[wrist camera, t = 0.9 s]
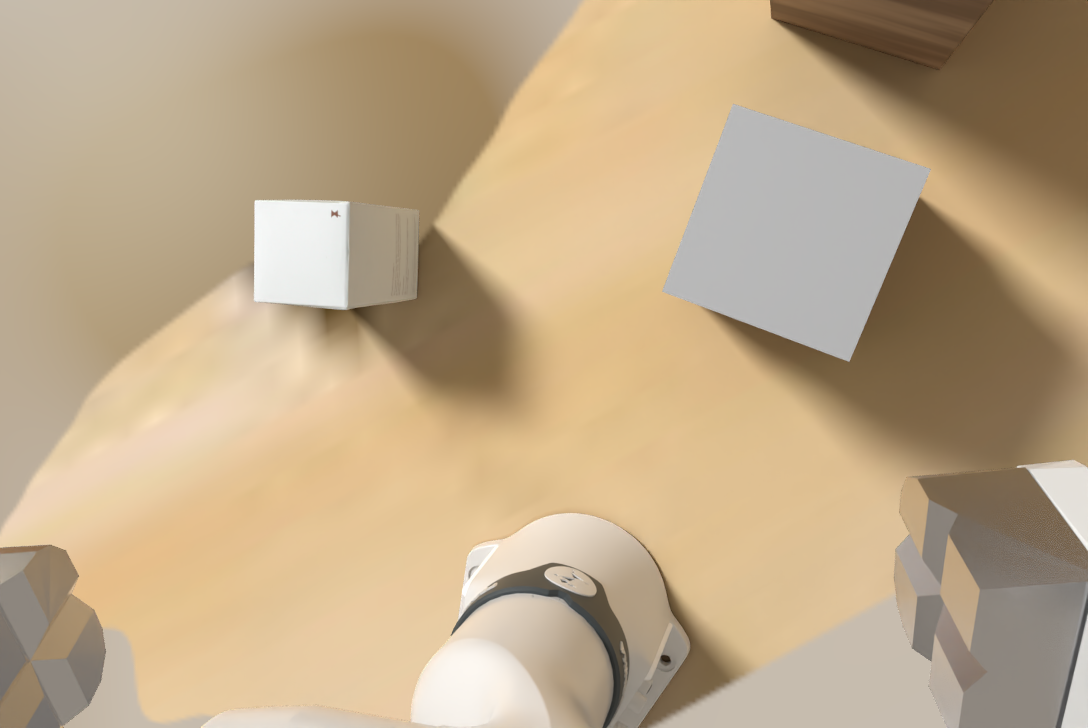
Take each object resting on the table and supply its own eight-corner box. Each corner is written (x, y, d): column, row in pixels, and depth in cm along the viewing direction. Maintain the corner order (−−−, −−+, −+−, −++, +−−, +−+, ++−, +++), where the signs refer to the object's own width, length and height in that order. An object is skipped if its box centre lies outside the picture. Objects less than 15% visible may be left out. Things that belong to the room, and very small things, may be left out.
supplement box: (336, 205, 77) (252, 195, 65) (422, 209, 76) (351, 199, 64) (334, 296, 78) (249, 302, 66) (418, 302, 77) (348, 310, 64)
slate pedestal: (839, 346, 69) (854, 373, 52) (683, 288, 71) (651, 296, 55) (906, 186, 67) (944, 163, 50) (743, 132, 69) (727, 92, 53)
